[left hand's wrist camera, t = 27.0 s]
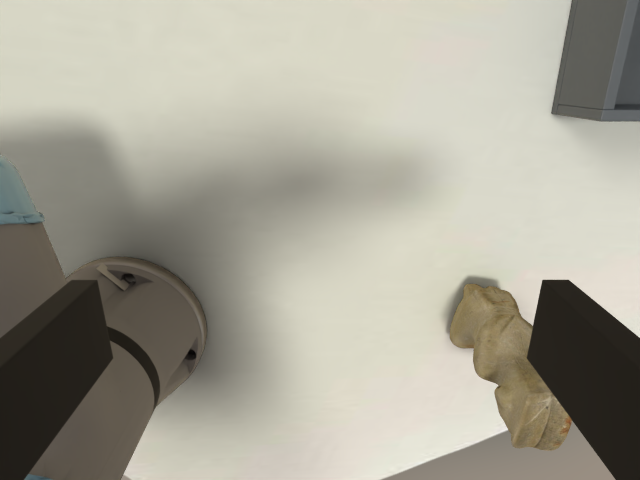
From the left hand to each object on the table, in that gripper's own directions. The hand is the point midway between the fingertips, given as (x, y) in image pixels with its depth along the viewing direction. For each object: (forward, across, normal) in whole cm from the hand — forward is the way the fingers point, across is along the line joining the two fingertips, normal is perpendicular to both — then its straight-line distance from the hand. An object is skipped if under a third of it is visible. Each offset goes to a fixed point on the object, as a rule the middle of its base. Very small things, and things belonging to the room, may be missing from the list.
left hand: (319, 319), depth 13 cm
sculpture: (+27, -15, +15) cm, 34 cm away
